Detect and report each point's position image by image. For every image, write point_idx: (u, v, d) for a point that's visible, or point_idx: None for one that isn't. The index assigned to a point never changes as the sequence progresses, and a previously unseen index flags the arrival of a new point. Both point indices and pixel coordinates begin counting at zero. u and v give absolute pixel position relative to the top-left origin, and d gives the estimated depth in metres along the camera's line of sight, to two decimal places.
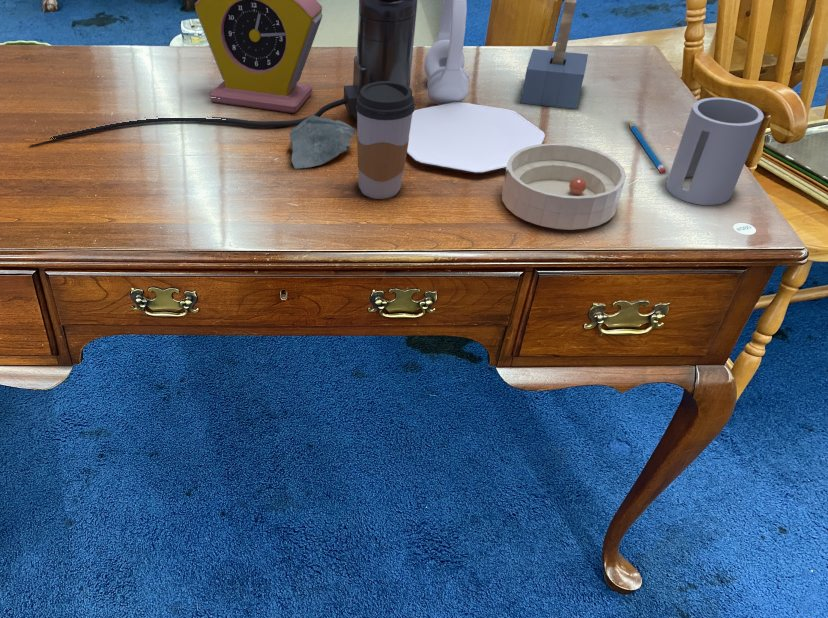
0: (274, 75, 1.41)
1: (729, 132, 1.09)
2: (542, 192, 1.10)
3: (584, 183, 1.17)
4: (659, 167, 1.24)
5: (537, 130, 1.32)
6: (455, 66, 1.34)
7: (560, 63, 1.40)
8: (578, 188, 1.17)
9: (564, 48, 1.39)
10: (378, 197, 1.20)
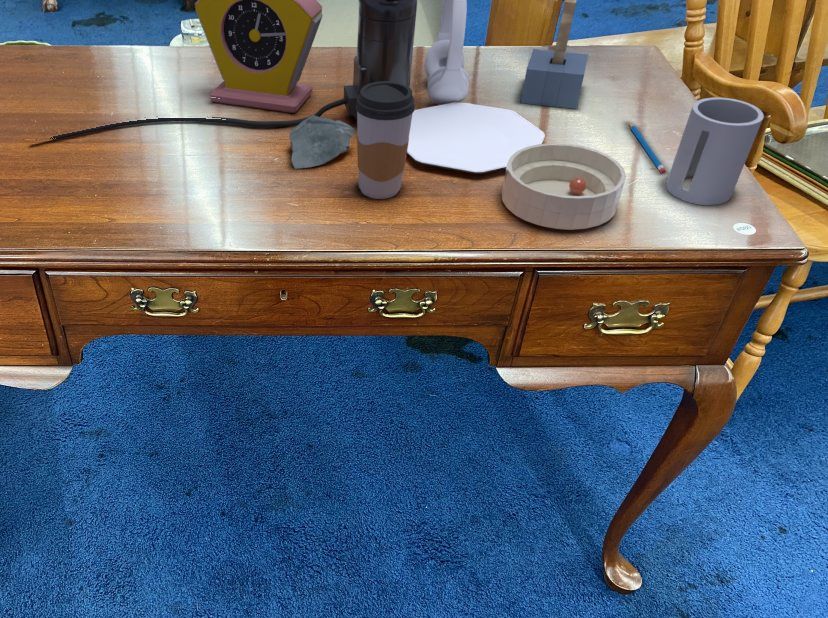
0: (274, 74, 1.41)
1: (729, 132, 1.09)
2: (542, 192, 1.10)
3: (584, 183, 1.17)
4: (659, 167, 1.24)
5: (537, 130, 1.32)
6: (455, 66, 1.34)
7: (560, 63, 1.40)
8: (578, 188, 1.17)
9: (564, 48, 1.39)
10: (378, 197, 1.20)
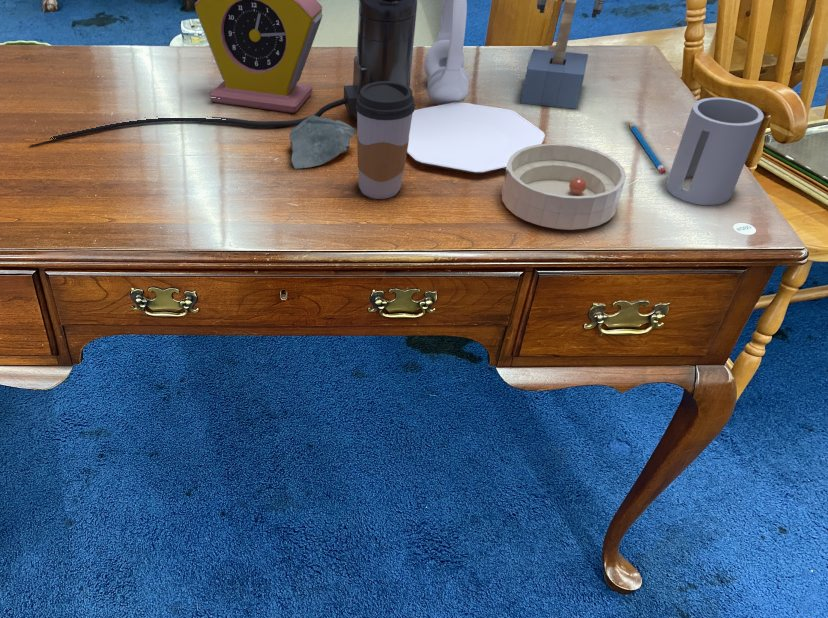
0: (274, 74, 1.41)
1: (729, 132, 1.09)
2: (542, 192, 1.10)
3: (584, 183, 1.17)
4: (659, 167, 1.24)
5: (537, 130, 1.32)
6: (455, 66, 1.34)
7: (560, 63, 1.40)
8: (578, 188, 1.17)
9: (564, 48, 1.39)
10: (378, 197, 1.20)
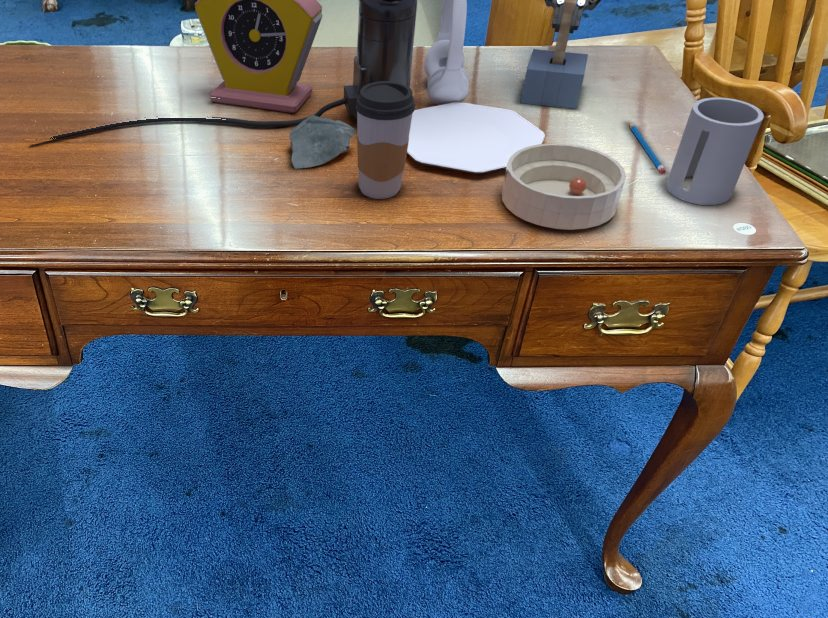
0: (274, 74, 1.41)
1: (729, 132, 1.09)
2: (542, 192, 1.10)
3: (584, 183, 1.17)
4: (659, 167, 1.24)
5: (537, 130, 1.32)
6: (455, 66, 1.34)
7: (560, 63, 1.40)
8: (578, 188, 1.17)
9: (564, 48, 1.39)
10: (378, 197, 1.20)
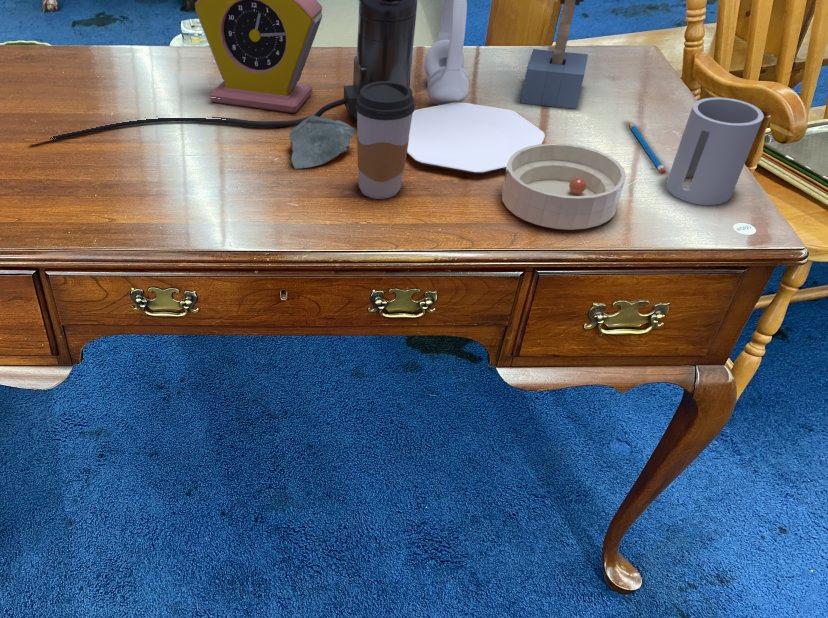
0: (274, 74, 1.41)
1: (729, 132, 1.09)
2: (542, 192, 1.10)
3: (584, 183, 1.17)
4: (659, 167, 1.24)
5: (537, 130, 1.32)
6: (455, 66, 1.34)
7: (565, 36, 1.37)
8: (578, 188, 1.17)
9: (569, 21, 1.35)
10: (378, 197, 1.20)
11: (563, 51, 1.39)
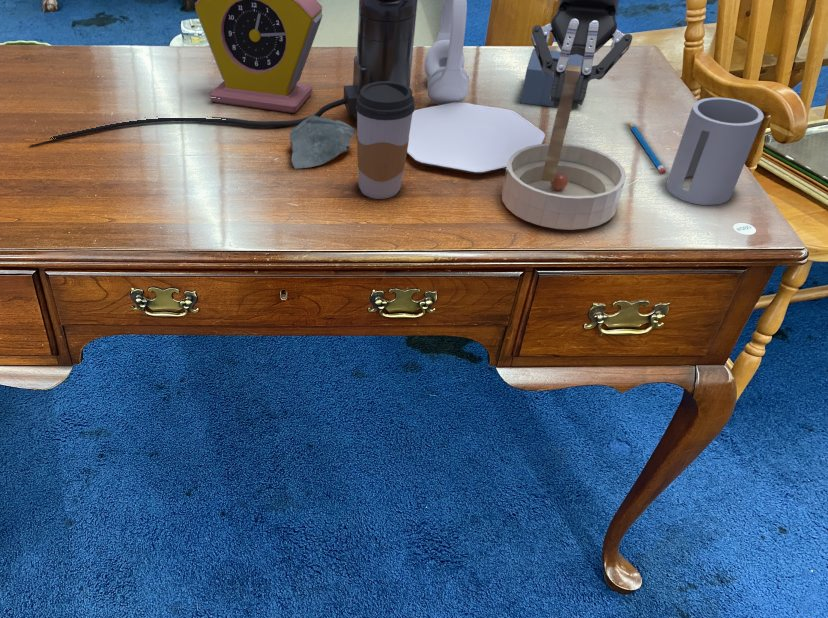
0: (274, 74, 1.41)
1: (729, 132, 1.09)
2: (542, 192, 1.10)
3: None
4: (659, 167, 1.24)
5: (537, 130, 1.32)
6: (455, 66, 1.34)
7: (560, 142, 1.13)
8: (553, 183, 1.19)
9: (565, 125, 1.11)
10: (378, 197, 1.20)
11: (557, 158, 1.15)
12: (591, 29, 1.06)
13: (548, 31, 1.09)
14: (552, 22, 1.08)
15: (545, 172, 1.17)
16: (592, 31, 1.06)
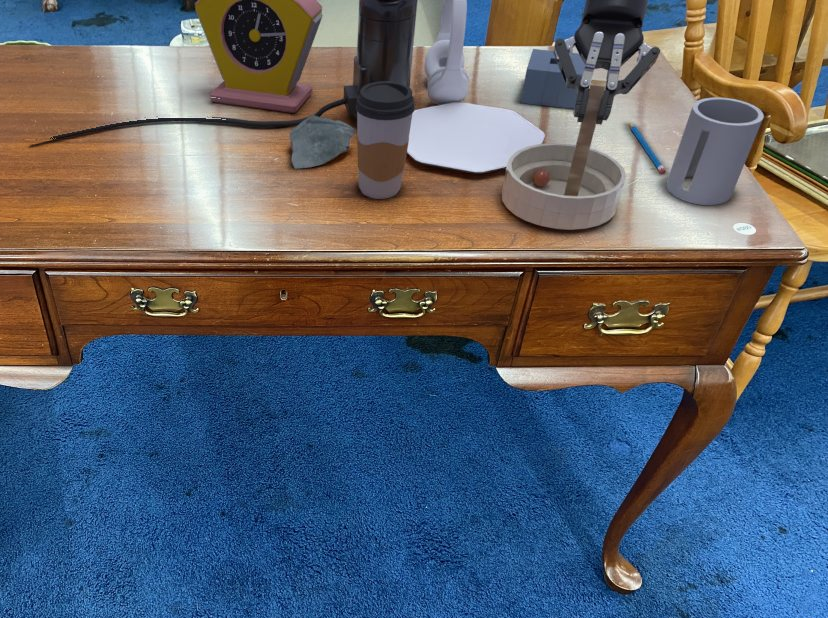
0: (274, 74, 1.41)
1: (729, 132, 1.09)
2: (542, 192, 1.10)
3: (543, 185, 1.21)
4: (659, 167, 1.24)
5: (537, 130, 1.32)
6: (455, 66, 1.34)
7: (583, 159, 1.09)
8: (540, 185, 1.20)
9: (589, 141, 1.07)
10: (378, 197, 1.20)
11: (581, 175, 1.10)
12: (617, 42, 1.02)
13: (571, 44, 1.04)
14: (575, 35, 1.04)
15: (568, 189, 1.12)
16: (618, 44, 1.02)
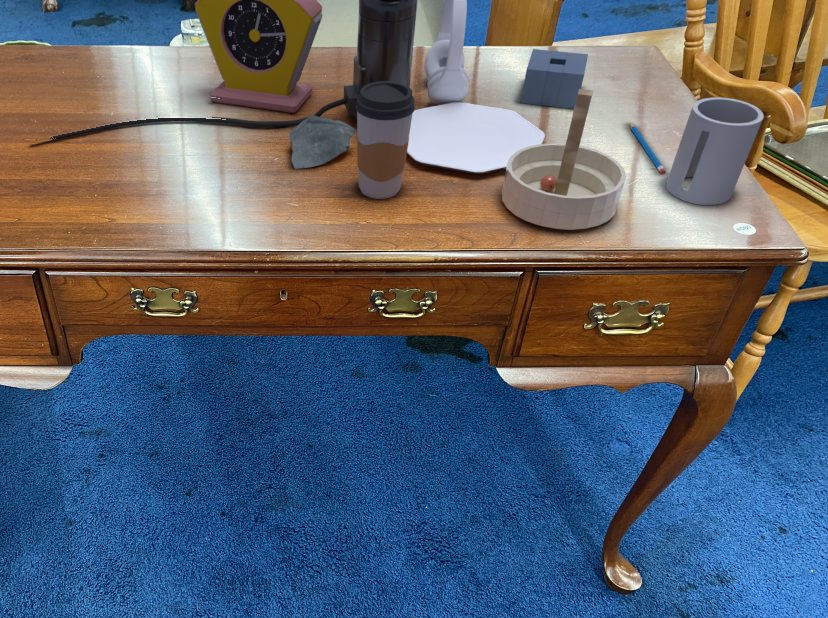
0: (274, 74, 1.41)
1: (729, 132, 1.09)
2: (542, 192, 1.10)
3: None
4: (659, 168, 1.24)
5: (537, 130, 1.32)
6: (455, 66, 1.34)
7: (571, 165, 1.13)
8: None
9: (576, 148, 1.11)
10: (378, 197, 1.20)
11: (568, 181, 1.15)
12: None
13: None
14: None
15: None
16: None
